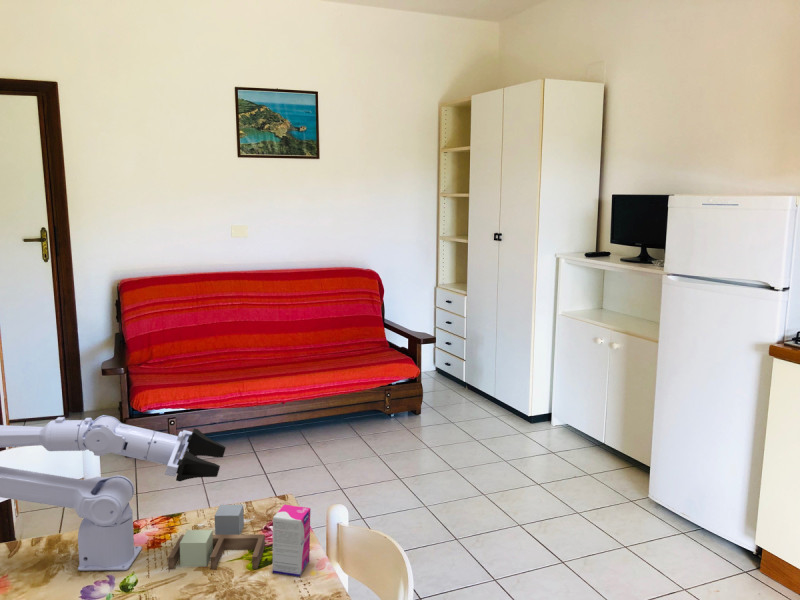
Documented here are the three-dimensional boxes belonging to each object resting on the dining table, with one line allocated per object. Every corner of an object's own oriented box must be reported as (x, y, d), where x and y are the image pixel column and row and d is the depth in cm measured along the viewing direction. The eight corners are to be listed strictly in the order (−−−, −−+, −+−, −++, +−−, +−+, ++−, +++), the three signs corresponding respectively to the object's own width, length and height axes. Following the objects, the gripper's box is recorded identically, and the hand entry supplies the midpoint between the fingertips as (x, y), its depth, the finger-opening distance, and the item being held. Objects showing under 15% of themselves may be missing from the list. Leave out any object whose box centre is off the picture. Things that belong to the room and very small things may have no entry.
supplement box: (300, 577, 122) (300, 520, 120) (271, 573, 123) (270, 517, 121) (311, 561, 127) (310, 506, 125) (283, 557, 128) (282, 503, 127)
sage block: (180, 567, 125) (179, 542, 124) (187, 553, 129) (187, 530, 129) (206, 566, 125) (205, 542, 124) (213, 553, 130) (212, 529, 129)
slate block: (215, 537, 136) (214, 515, 135) (220, 526, 140) (220, 504, 140) (239, 537, 136) (238, 515, 135) (243, 526, 141) (243, 504, 140)
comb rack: (168, 569, 123) (167, 557, 123) (181, 546, 132) (181, 534, 131) (257, 568, 124) (257, 556, 124) (264, 545, 133) (264, 534, 132)
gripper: (146, 445, 116) (221, 462, 119) (165, 411, 130) (231, 427, 133) (137, 479, 118) (211, 495, 120) (157, 442, 132) (223, 457, 134)
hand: (221, 461), depth 127 cm, fingers open, 7 cm apart
